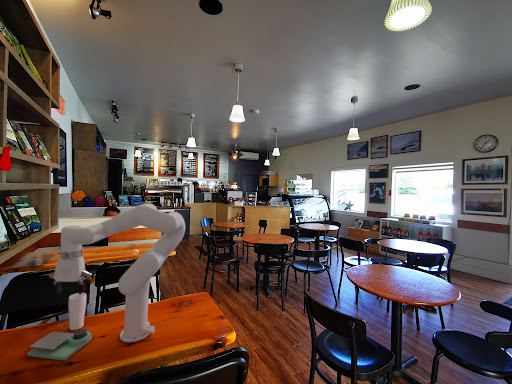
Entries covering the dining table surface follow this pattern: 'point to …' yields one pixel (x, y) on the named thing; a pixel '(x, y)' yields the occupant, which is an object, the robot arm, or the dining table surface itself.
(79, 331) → the tare button
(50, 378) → the dining table surface
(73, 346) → the scale
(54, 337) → the scale plate
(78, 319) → the drinking glass
